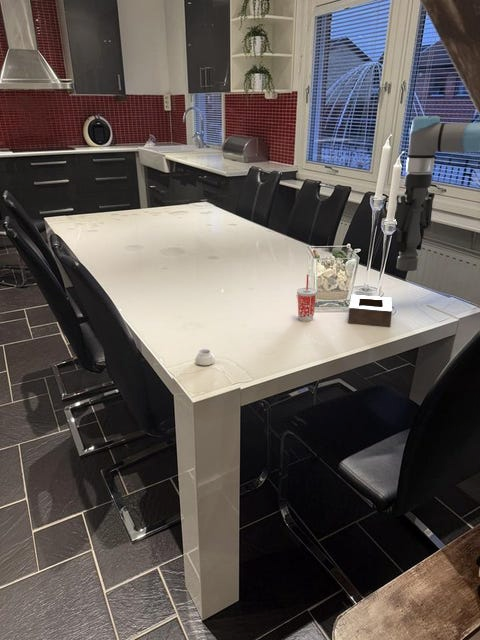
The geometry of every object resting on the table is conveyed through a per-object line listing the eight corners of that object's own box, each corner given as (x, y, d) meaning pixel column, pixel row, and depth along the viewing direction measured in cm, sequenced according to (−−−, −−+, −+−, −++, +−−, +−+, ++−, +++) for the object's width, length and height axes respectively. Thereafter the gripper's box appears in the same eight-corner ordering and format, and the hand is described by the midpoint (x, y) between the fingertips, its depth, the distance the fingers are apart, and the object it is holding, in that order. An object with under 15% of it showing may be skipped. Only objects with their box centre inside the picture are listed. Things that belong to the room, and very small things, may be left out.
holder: (389, 312, 148) (391, 297, 146) (390, 327, 137) (392, 311, 135) (350, 309, 151) (351, 294, 149) (347, 323, 140) (349, 307, 139)
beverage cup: (310, 313, 148) (313, 271, 143) (318, 320, 143) (321, 276, 137) (292, 315, 147) (294, 272, 141) (300, 322, 141) (302, 278, 136)
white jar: (202, 356, 121) (191, 363, 117) (202, 345, 120) (190, 353, 116) (219, 360, 118) (207, 368, 115) (218, 349, 117) (207, 357, 113)
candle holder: (414, 272, 144) (425, 188, 135) (393, 269, 147) (403, 187, 138) (419, 267, 149) (430, 186, 139) (399, 264, 152) (409, 185, 143)
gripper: (431, 170, 144) (421, 244, 153) (385, 173, 136) (377, 251, 145) (451, 172, 138) (439, 249, 147) (405, 175, 130) (395, 256, 139)
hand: (408, 250), depth 146 cm, fingers closed on candle holder, 6 cm apart
